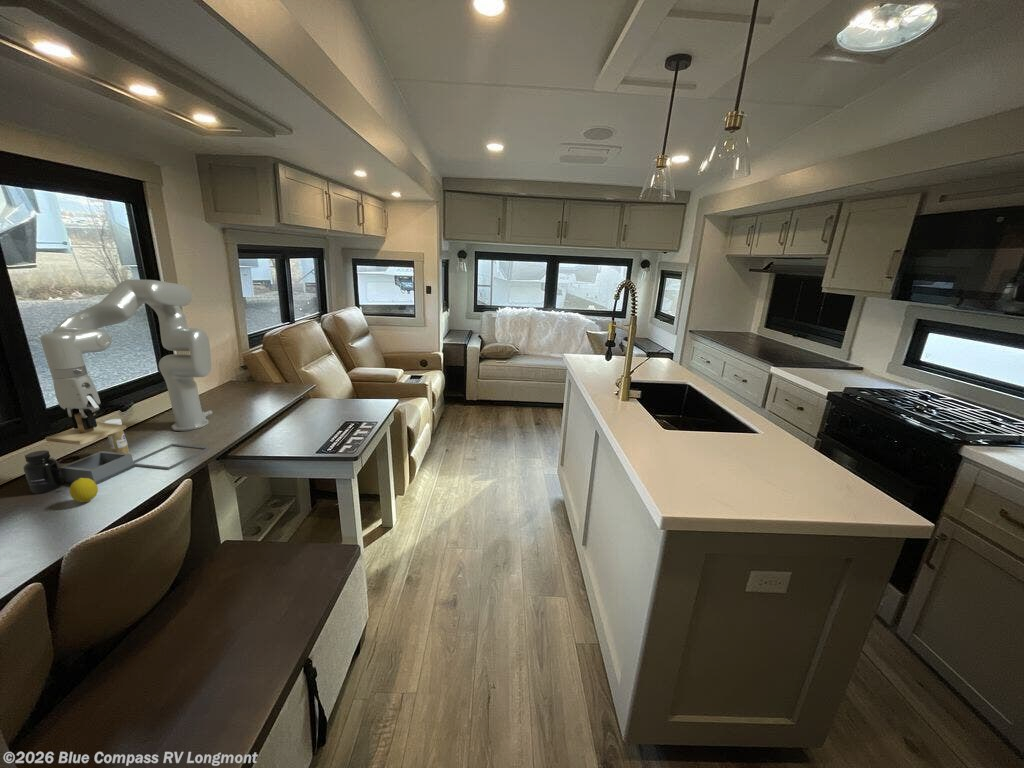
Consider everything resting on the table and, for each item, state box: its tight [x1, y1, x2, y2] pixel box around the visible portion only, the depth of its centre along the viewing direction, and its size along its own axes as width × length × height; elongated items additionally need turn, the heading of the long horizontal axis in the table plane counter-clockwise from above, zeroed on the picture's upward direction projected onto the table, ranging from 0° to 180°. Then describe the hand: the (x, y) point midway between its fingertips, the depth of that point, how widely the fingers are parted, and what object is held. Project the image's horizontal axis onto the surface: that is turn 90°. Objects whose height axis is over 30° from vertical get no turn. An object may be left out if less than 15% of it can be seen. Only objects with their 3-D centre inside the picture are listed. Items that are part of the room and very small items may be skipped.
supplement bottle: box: [22, 449, 64, 494], centre depth 123 cm, size 7×7×12 cm
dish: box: [59, 450, 136, 486], centre depth 133 cm, size 12×12×5 cm
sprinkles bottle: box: [103, 418, 131, 454], centre depth 145 cm, size 5×5×14 cm
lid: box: [44, 413, 127, 446], centre depth 128 cm, size 13×13×7 cm
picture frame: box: [133, 443, 212, 471], centre depth 146 cm, size 17×17×1 cm
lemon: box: [69, 478, 99, 503], centre depth 117 cm, size 6×6×8 cm
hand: (85, 427), depth 128 cm, fingers closed on lid, 3 cm apart
